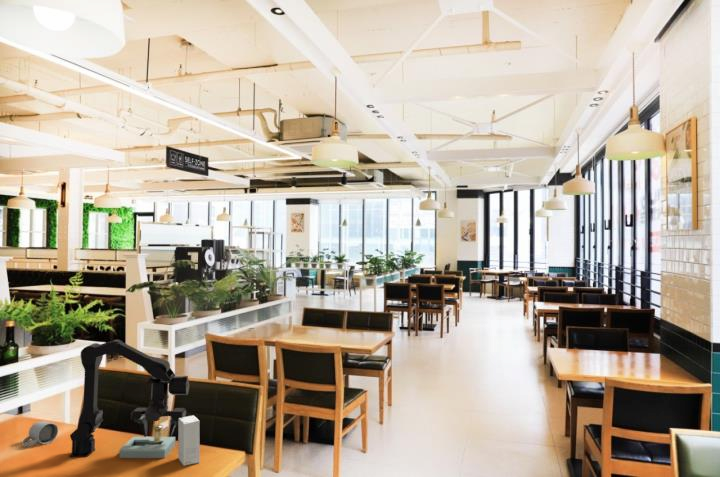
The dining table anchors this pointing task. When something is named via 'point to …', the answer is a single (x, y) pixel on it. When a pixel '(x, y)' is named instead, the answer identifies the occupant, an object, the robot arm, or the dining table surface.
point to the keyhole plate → (147, 447)
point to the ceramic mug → (41, 433)
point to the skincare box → (188, 440)
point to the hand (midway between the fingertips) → (158, 436)
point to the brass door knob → (157, 434)
